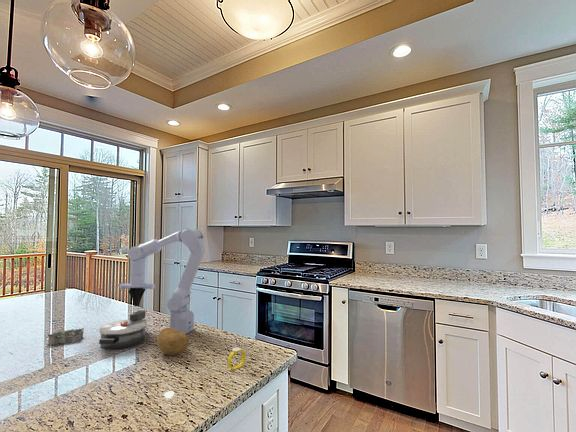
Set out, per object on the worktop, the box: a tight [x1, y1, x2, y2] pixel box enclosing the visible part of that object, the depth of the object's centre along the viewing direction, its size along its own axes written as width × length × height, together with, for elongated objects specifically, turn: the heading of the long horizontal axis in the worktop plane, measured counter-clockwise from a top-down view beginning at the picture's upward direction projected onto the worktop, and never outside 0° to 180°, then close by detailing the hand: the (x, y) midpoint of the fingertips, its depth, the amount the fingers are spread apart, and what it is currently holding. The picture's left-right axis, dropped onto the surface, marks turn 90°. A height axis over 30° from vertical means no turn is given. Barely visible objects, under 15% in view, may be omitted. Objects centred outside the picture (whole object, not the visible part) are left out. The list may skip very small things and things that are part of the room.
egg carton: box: [47, 327, 85, 346], centre depth 115 cm, size 11×8×4 cm
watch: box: [227, 346, 246, 371], centre depth 93 cm, size 6×3×6 cm, turn 136°
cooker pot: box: [98, 319, 147, 351], centre depth 115 cm, size 24×15×5 cm, turn 178°
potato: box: [156, 327, 190, 356], centre depth 104 cm, size 10×14×8 cm
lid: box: [99, 309, 148, 336], centre depth 117 cm, size 22×16×3 cm
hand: (136, 305), depth 128 cm, fingers closed
